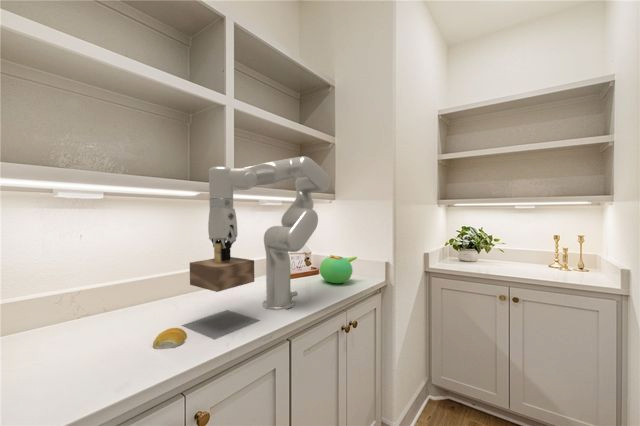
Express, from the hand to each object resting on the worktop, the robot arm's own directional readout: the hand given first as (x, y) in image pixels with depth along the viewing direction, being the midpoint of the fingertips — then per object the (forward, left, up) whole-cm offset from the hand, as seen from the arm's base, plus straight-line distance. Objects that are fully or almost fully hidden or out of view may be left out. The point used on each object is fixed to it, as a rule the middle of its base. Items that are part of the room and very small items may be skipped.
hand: (222, 259), depth 98 cm
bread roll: (+17, 0, -22) cm, 28 cm away
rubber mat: (0, 0, -22) cm, 22 cm away
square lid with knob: (0, 0, -8) cm, 8 cm away
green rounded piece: (-70, +1, -22) cm, 73 cm away
